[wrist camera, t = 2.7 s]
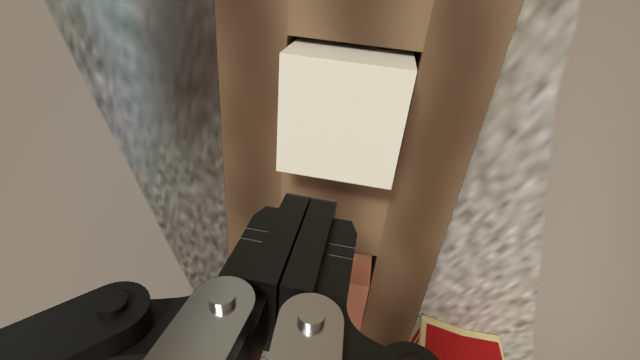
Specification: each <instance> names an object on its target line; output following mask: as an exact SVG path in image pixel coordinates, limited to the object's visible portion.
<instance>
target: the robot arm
mask: <svg viewBox="0 0 640 360" xmlns="http://www.w3.org/2000/svg"><path fill="white" fill-rule="evenodd" d="M336 209H337V201H334V200H328V199H322V198H316V197H312V198H311V197H310V196H304V195H299V194H293V193H286V194H285V196H284V198H283V200H282V202H281V205H280V207H279V208H275V207H269V206H266V207H264V208H263V209H261V210H260V211H258V212H257V213H256V214H254V215H253V217H252V219H251V220H250V222H249V224H248V225H247V228H246V229H245V231H244V232H243V234H242V236H241V239H239V241H238V243H237V244H236V246H235V248H234V250H233V251H232V253H231V255H230V257H229V258H228V260H227V262H226V263H225V265H224V267H223V269H222V270H221V272H220V274H219V275H218V277H215V278H212V279H209V280H207V281H205V282H204V283H202V284H201V285H199V286H198V287H197V288H196V289H195V290H194V291H193V293H192V294H191V295H190V296H186V297H180V298H167V299H152V300H151V299H150V295H149V293H148V291H147V289H146V288H145V287H143V286H142V285H140V284H138V283H134V282H128V281H125V282H115V283H111V284H108V285H105V286H102V287H100V288H97V289H95V290H92V291H90V292H88V293H85V294H83V295H81V296H78V297H76V298H73V299H71V300H69V301H66V302H64V303H61V304H59V305H57V306H54V307H52V308H49V309H47V310H45V311H42V312H40V313H37V314H35V315H33V316H30V317H28V318H25V319H23V320H21V321H18V322H16V323H13V324H11V325H9V326H6V327H4V328H1V329H0V360H260V358H261V355H262V352H263V350H264V351H269V354H268V358H267V360H439V359H438V357H437V356H436V355H435V354H433V353H432V352H431V351H430V350H428V349H427V348H425V347H423V346H421V345H419V344H416V343H413V342H407V341H398V342H393V343H391V344H388V345H387V346H383V345H381V344H379V343H377V342H375V341H373V340H372V339H370V338H368V337H367V336H365V335H364V334H362V333H361V332H360V331H359V330H358V329H357V328H356V327H355V326H354V325H353V323H352V322H351V320H350V318H349V315H348V312H347V298H348V292H349V285H350V279H351V272H352V265H353V259H354V252H355V246H356V239H357V232H356V230H355V227H354V225H353V223H352V221H348V220H343V219H337V218H335V216H336Z"/></svg>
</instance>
